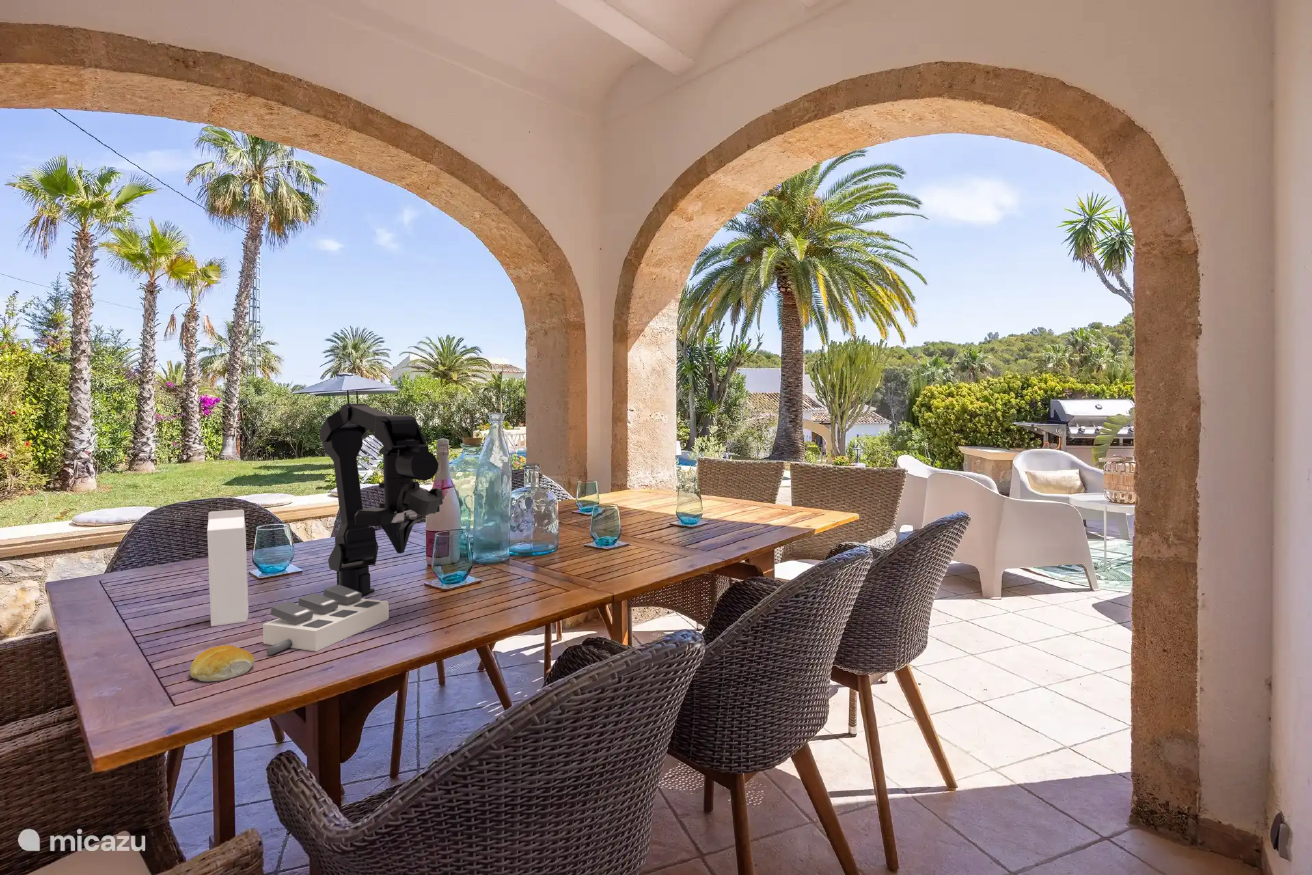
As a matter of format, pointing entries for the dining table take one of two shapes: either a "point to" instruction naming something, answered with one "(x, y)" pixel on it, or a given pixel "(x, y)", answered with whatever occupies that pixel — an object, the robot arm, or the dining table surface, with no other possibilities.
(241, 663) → the bread roll
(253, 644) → the dining table surface
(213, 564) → the milk
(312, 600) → the rocker middle
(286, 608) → the rocker
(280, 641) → the power strip
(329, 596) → the rocker
